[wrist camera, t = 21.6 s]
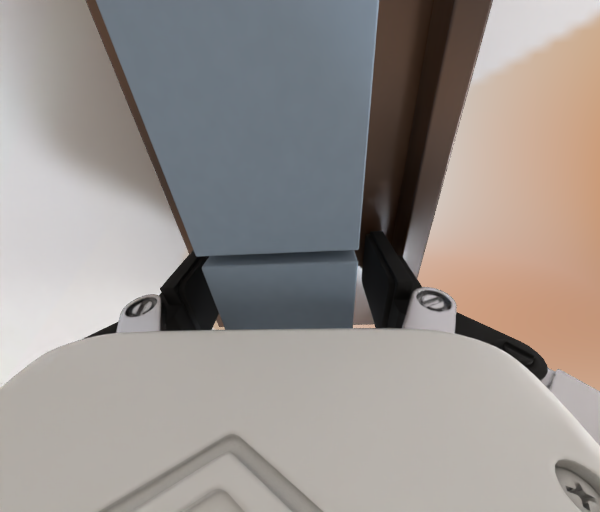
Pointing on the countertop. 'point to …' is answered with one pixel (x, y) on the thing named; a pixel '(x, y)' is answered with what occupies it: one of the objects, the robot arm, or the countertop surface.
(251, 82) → the pad
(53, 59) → the countertop surface
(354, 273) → the pad
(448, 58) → the backing board
